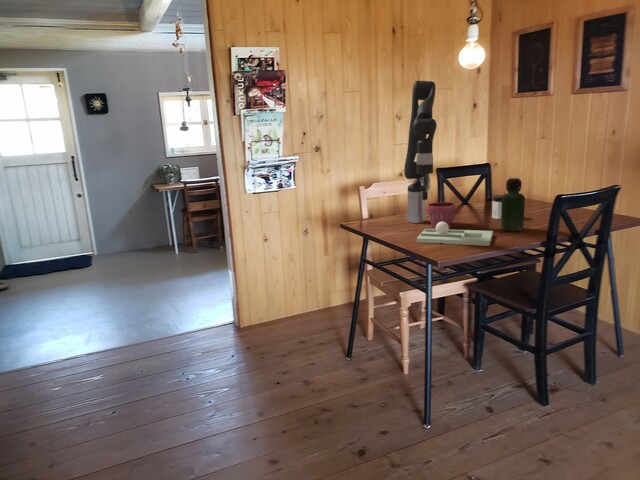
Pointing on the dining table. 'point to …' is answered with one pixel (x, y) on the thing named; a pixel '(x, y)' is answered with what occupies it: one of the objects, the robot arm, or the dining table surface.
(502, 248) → the dining table surface
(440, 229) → the ball
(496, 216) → the jar
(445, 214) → the plant pot
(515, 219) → the dark green tall piece
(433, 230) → the putting mat
